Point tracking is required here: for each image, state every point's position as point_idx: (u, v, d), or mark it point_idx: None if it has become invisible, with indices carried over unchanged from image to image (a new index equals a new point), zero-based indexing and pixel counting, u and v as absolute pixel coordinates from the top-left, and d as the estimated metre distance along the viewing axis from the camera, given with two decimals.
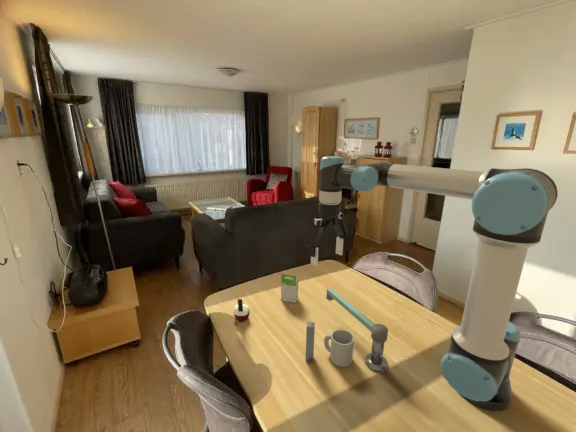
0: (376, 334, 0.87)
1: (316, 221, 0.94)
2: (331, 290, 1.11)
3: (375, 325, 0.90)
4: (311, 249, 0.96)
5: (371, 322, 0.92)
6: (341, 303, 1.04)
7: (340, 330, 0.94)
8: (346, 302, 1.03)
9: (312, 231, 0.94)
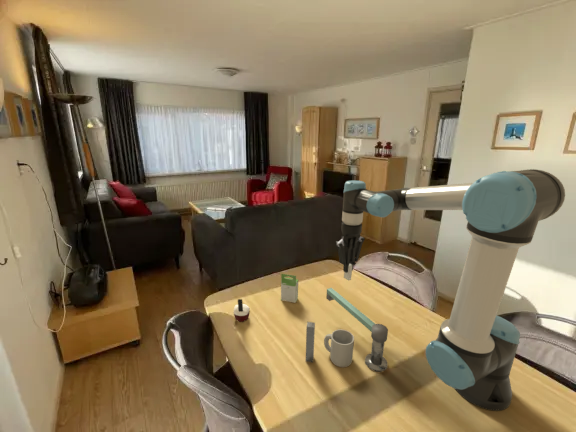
0: (376, 334, 0.87)
1: (338, 245, 1.04)
2: (331, 290, 1.11)
3: (375, 325, 0.90)
4: (344, 265, 1.09)
5: (371, 322, 0.92)
6: (341, 303, 1.04)
7: (340, 330, 0.94)
8: (346, 302, 1.03)
9: (339, 252, 1.06)
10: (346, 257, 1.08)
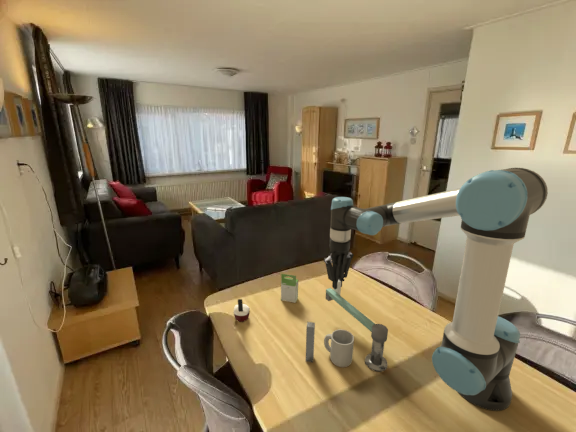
0: (376, 334, 0.87)
1: (326, 262, 1.03)
2: (330, 290, 1.11)
3: (375, 325, 0.90)
4: (333, 282, 1.08)
5: (371, 322, 0.92)
6: (340, 303, 1.04)
7: (340, 330, 0.94)
8: (345, 302, 1.03)
9: (327, 269, 1.05)
10: (335, 274, 1.07)
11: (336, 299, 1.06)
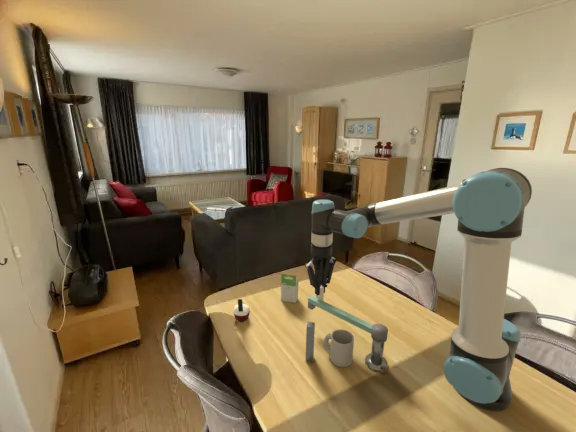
0: (379, 335, 0.86)
1: (307, 267, 0.99)
2: (313, 298, 1.06)
3: (374, 326, 0.89)
4: (315, 288, 1.04)
5: (368, 324, 0.92)
6: (329, 310, 1.00)
7: (340, 330, 0.94)
8: (334, 308, 0.99)
9: (309, 274, 1.01)
10: (317, 279, 1.03)
11: (323, 306, 1.02)
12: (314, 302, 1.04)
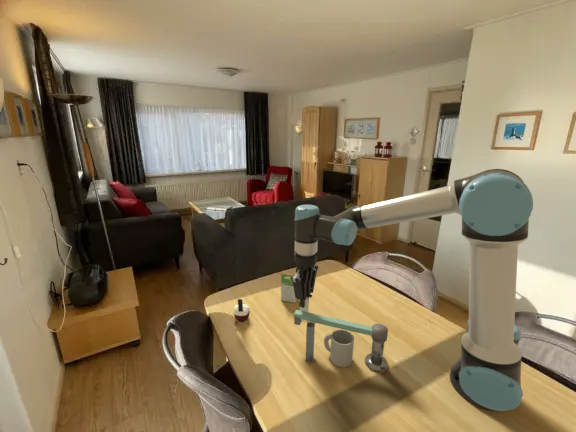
0: (382, 335, 0.86)
1: (294, 280, 0.90)
2: (299, 312, 0.97)
3: (373, 327, 0.89)
4: (301, 300, 0.96)
5: (366, 326, 0.90)
6: (321, 321, 0.94)
7: (340, 330, 0.94)
8: (326, 318, 0.94)
9: (295, 287, 0.92)
10: (302, 291, 0.95)
11: (313, 319, 0.95)
12: (302, 316, 0.96)
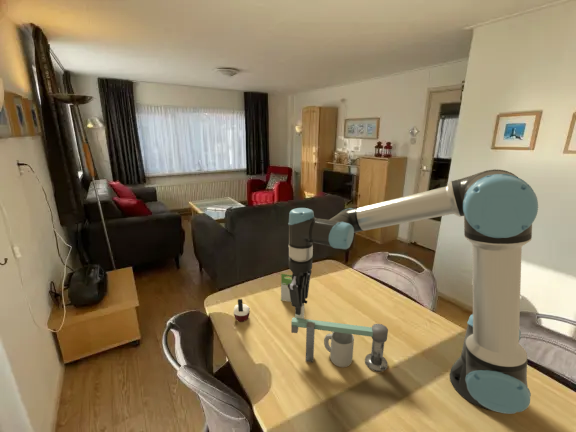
0: (383, 335, 0.86)
1: (292, 288, 0.86)
2: (296, 319, 0.93)
3: (374, 328, 0.88)
4: (297, 308, 0.92)
5: (365, 327, 0.90)
6: (321, 327, 0.91)
7: None
8: (325, 323, 0.91)
9: (292, 295, 0.88)
10: (298, 298, 0.91)
11: None
12: (300, 324, 0.92)
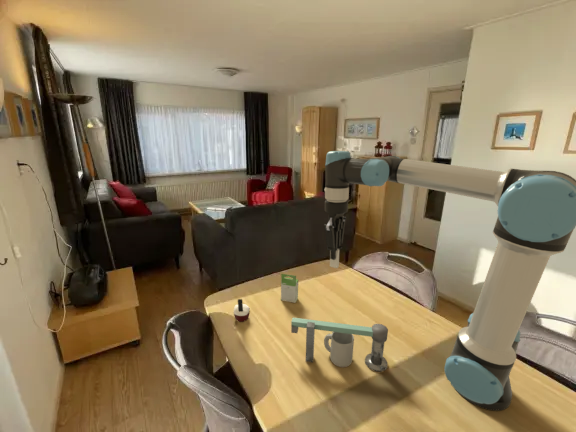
0: (383, 335, 0.86)
1: (328, 228, 0.88)
2: (296, 319, 0.93)
3: (374, 328, 0.88)
4: (332, 252, 0.94)
5: (365, 327, 0.90)
6: (321, 327, 0.91)
7: None
8: (325, 323, 0.91)
9: (328, 236, 0.90)
10: None
11: None
12: (300, 324, 0.92)
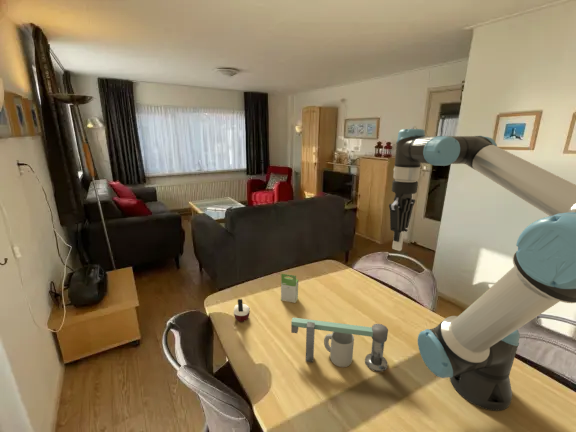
0: (383, 335, 0.86)
1: (393, 207, 0.87)
2: (296, 319, 0.93)
3: (374, 328, 0.88)
4: (395, 233, 0.93)
5: (365, 327, 0.90)
6: (321, 327, 0.91)
7: None
8: (325, 323, 0.91)
9: (392, 216, 0.89)
10: None
11: None
12: (300, 324, 0.92)
